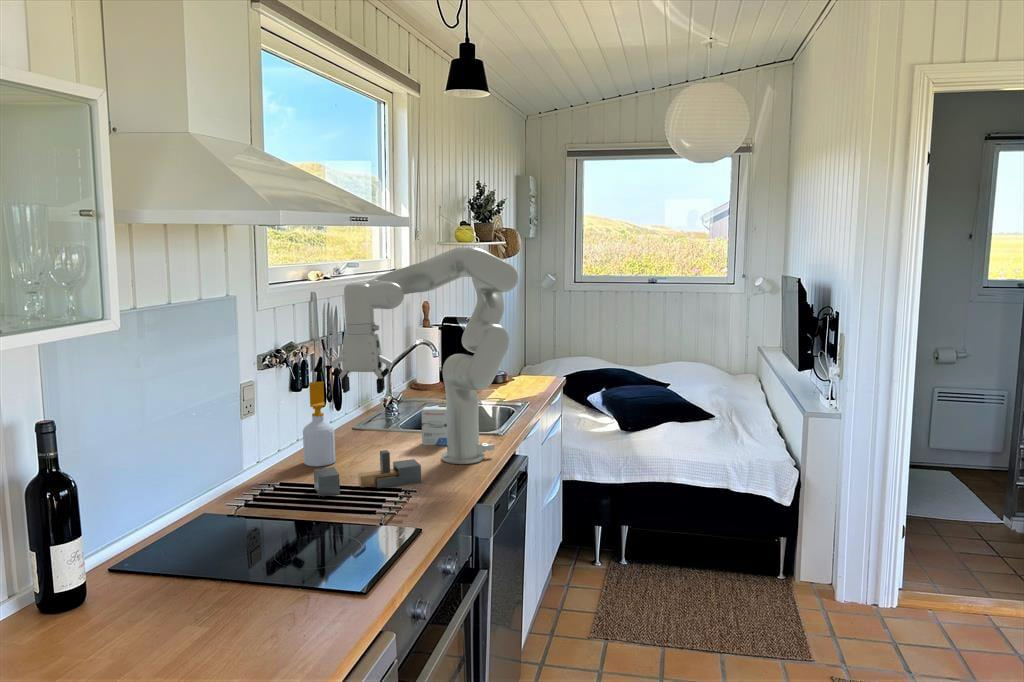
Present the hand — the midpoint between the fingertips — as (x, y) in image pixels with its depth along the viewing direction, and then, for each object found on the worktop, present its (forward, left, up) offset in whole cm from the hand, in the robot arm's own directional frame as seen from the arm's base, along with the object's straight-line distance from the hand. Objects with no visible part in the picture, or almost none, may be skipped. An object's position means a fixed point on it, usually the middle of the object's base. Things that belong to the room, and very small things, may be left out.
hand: (363, 392), depth 211 cm
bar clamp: (0, +6, -24) cm, 25 cm away
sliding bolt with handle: (-5, +6, -24) cm, 25 cm away
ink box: (-29, -28, -25) cm, 47 cm away
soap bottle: (+9, -22, -25) cm, 34 cm away
